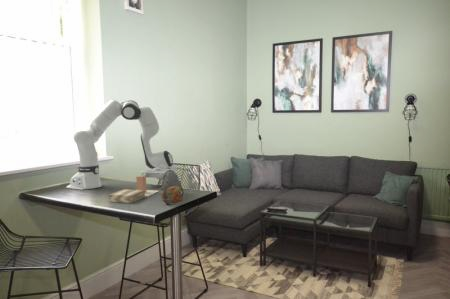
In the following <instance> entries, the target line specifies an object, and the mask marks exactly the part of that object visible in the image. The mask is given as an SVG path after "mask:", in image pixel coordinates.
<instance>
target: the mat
mask: <svg viewBox="0 0 450 299" xmlns="http://www.w3.org/2000/svg"><path fill="white" fill-rule="evenodd" d="M157 193H160V190H156V189H155V190H153V189H146V192H145V197H151V196H153V195H154V194H157Z"/></svg>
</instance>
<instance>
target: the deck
mask: <svg viewBox="0 0 450 299" xmlns="http://www.w3.org/2000/svg"><path fill="white" fill-rule="evenodd" d="M145 197H146V196H145V190H137V189H121V190H118V191H115V192H112V193H110V194H108V199H109V200H108V201H109V203H125V204H134V203H135V202H137V201H140V200H142V199H143V198H144V199H145Z"/></svg>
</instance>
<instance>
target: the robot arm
mask: <svg viewBox="0 0 450 299" xmlns="http://www.w3.org/2000/svg"><path fill="white" fill-rule="evenodd" d="M120 116H121V117H123V118H124V119H125V120H129V121H133V120H137V121H138V122H139V124H140V126H141V130H142V131H141V134H140V141H141V142H140V143H141V146H142V151H143V154H144V162H145V165H146V167H147V168H149V169H148V170H143V171H141V172H140V175H141V176H146V178H153V179H154V178H155V179H157V180H160V181H162V180H163V177H164V173H165V172H167V171H168V170H173V171H174V172H175V173H176V166H175V165H174V158H173V155H172V154H171V153H170V152H169V151H168V150H162V151H159V152H155V153H153V151H152V147H151V144H150V142H151V139H152V138H153V137H155V136H156V135H157V134H158V133H159V130H160V126H159V121H158V120H157V119H158V118H156V114H155V113H154V110H152V109H151V107H149V106H144V107H140V105H139V104H138V102H136V101H135V100H131V99H129V100H126V101H123V102H119V101H118V100H115V99H112V100H110V101H108V102H107V103H106V104H104V105H103V107H101V108H100V109H99V110H98V112H97V113H95V115H94V116H93V117H92V119H91V121H90V122H89V124H87V126H86V127H84V128H79V129H78V130H77V131H76V132H75V133H74V135H73V140H74V142H75V143H76V146H77V150H78V154H79V165H80V166H79V167H76V169H77V171H78V172H76V173H75V174H74V175H73V176H71V178H70V180H69V184H68V185H67V186H65V187H66V189H73V190H81V191H82V190H89V189H90V190H91V189H96V188H97V189H98V188H101V187H102V182H101V177H100V166H99V159H98V158H99V157H98V151H97V149H96V147H95V144H96V143H97V142H98V141H99V139H101V137H102V136H103V134H104V133H105V132H106V130H107V129H108V128H109V127H110V126H111V125H112V123H114V121H116V119H117V118H118V117H120ZM153 169H154V170H153Z"/></svg>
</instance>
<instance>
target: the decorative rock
mask: <svg viewBox="0 0 450 299" xmlns="http://www.w3.org/2000/svg"><path fill="white" fill-rule="evenodd" d="M173 186H181V187H182V188H183V186H182V183H181V180H180V179H179V176H178V174H177V173H176V171H175V172H174V171H173V170H168V171H167V172H165V173H164V177H163V179H162V180H161V187H160V188H161V190H162V191H163V192H164V190H165V189H167V188H170V187H173Z"/></svg>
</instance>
